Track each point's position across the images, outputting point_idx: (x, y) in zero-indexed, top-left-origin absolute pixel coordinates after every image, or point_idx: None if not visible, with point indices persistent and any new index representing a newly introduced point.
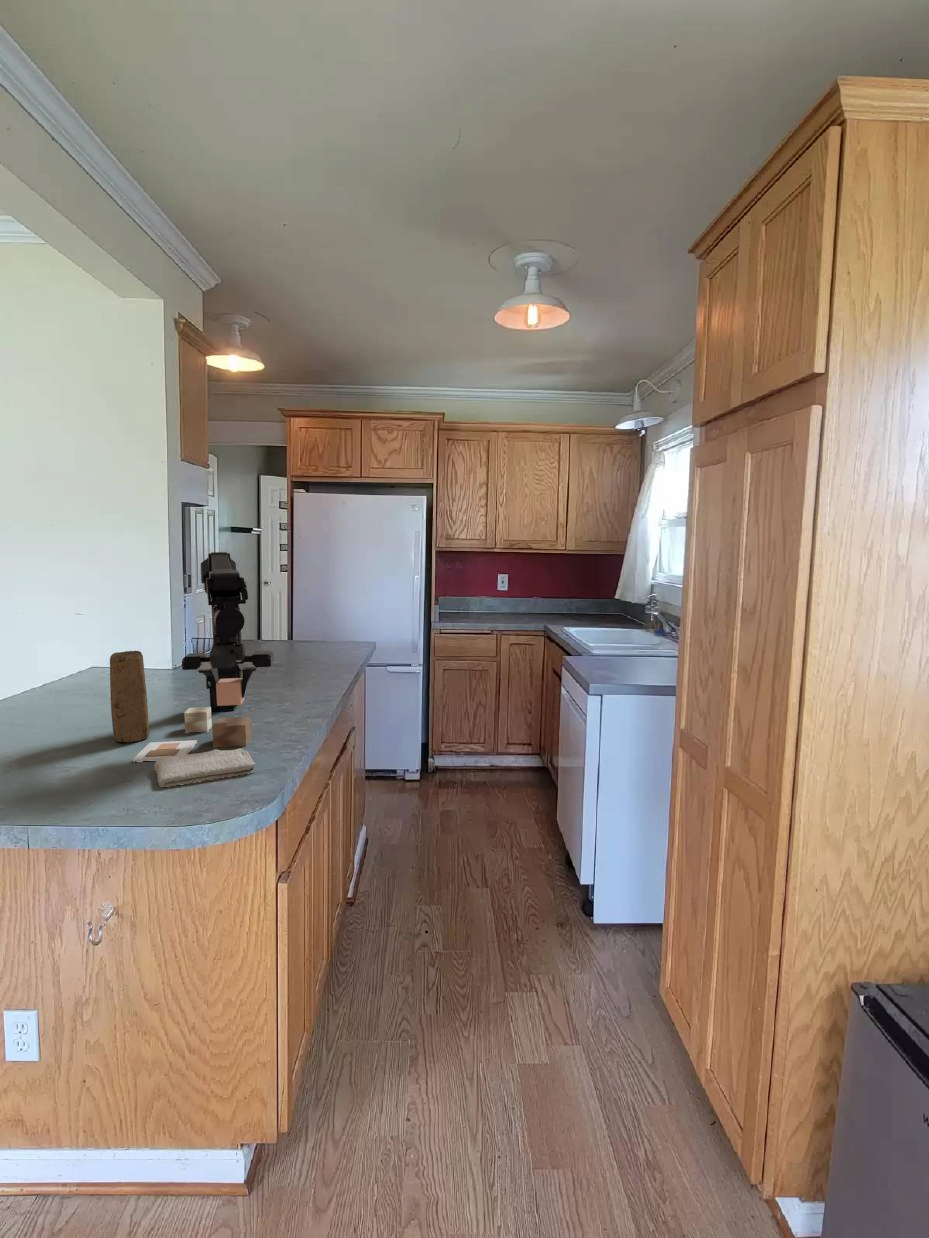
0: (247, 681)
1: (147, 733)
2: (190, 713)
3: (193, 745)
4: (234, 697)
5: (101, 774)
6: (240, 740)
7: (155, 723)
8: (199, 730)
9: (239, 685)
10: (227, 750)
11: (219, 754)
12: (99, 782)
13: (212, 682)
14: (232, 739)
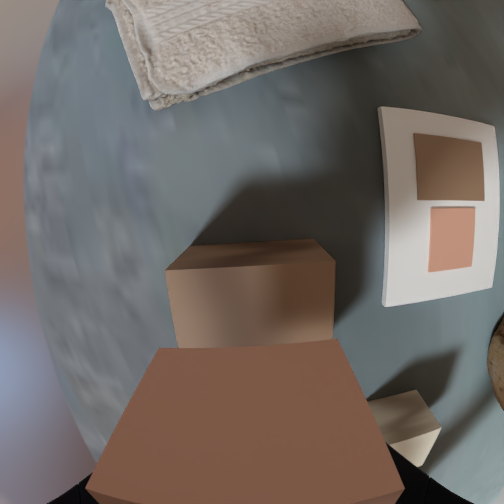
0: (60, 496)
1: (498, 339)
2: (425, 431)
3: (386, 256)
4: (189, 385)
5: (501, 65)
6: (205, 249)
7: (461, 433)
8: (384, 401)
9: (101, 465)
10: (207, 62)
11: (227, 22)
12: (476, 17)
13: (431, 501)
14: (238, 249)
